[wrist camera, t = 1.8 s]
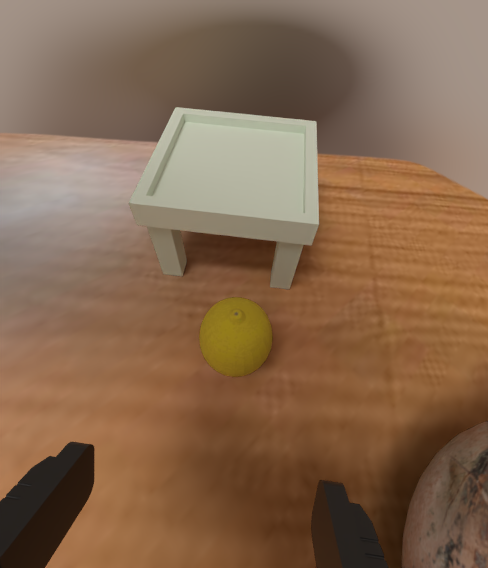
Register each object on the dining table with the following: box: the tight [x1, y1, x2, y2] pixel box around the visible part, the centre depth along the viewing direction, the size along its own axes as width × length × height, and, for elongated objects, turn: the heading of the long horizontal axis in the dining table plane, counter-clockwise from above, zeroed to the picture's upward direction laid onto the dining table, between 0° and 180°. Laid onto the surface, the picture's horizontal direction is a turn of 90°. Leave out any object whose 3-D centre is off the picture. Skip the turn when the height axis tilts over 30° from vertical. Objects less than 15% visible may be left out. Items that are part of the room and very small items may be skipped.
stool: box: [129, 107, 319, 289], centre depth 29 cm, size 14×14×10 cm
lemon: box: [199, 297, 273, 377], centre depth 22 cm, size 6×6×8 cm
